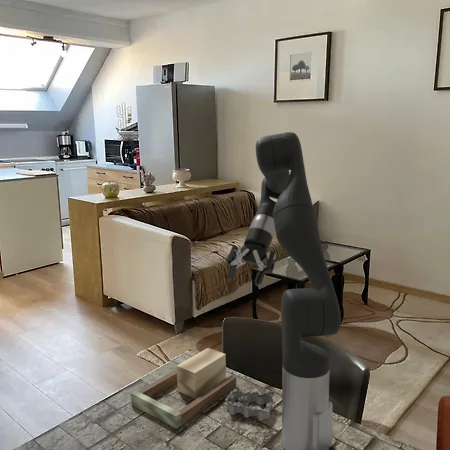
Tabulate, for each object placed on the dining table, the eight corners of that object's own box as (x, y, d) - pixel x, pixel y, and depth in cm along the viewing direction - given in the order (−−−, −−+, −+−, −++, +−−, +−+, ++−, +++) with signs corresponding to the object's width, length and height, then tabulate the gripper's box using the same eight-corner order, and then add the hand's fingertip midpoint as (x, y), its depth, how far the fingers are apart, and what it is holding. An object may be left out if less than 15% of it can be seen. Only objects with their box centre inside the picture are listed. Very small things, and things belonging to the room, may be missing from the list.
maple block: (226, 378, 120) (225, 354, 119) (195, 399, 111) (194, 373, 110) (208, 371, 124) (208, 347, 123) (177, 391, 115) (176, 365, 113)
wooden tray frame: (236, 386, 116) (236, 375, 116) (176, 428, 100) (176, 416, 99) (192, 368, 126) (192, 358, 125) (131, 404, 109) (130, 393, 109)
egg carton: (276, 406, 108) (277, 390, 107) (266, 424, 101) (267, 408, 100) (234, 396, 112) (234, 381, 111) (222, 413, 105) (222, 397, 105)
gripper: (235, 223, 138) (216, 271, 131) (279, 229, 130) (261, 280, 124) (244, 236, 143) (226, 282, 137) (286, 242, 136) (269, 291, 130)
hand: (243, 281), depth 130 cm, fingers open, 8 cm apart
